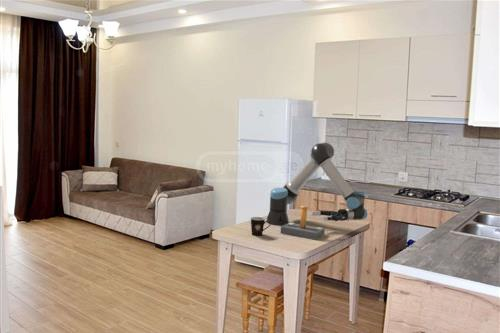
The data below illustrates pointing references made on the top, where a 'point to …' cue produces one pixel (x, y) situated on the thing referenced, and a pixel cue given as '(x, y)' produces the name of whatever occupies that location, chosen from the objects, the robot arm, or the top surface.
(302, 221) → the switch lever
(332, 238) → the top surface
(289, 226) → the switch box
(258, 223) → the coffee mug
